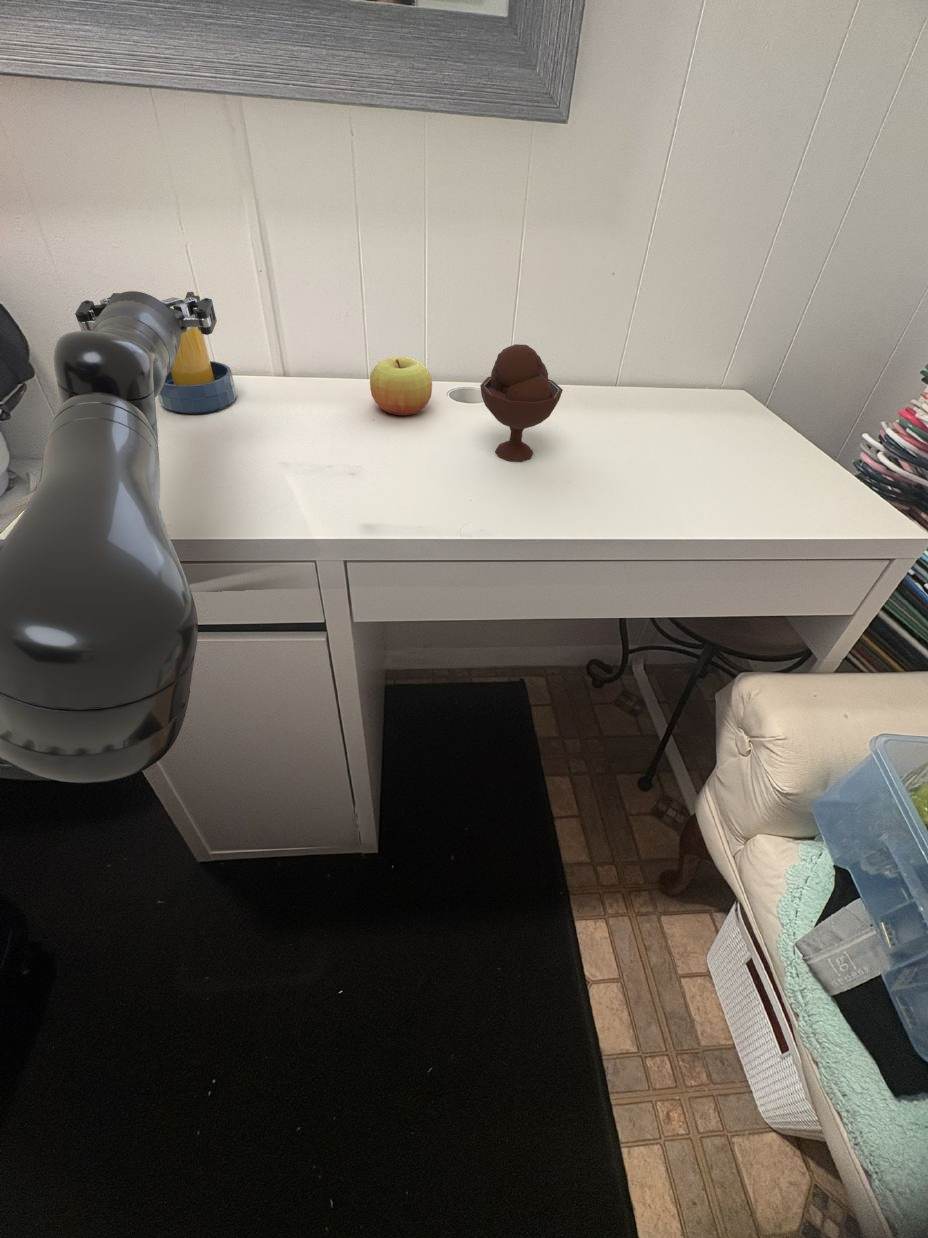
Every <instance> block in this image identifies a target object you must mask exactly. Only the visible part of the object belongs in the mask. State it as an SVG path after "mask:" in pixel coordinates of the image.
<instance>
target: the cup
mask: <svg viewBox="0 0 928 1238" xmlns="http://www.w3.org/2000/svg"><path fill="white" fill-rule="evenodd" d="M210 359H211V358H210V355H209V352H208V347H207V343H206V339H205V334H202V333H201V331H199V330H198V327H191V328H190V330H188V331H186V332H184V333H182V334H181V341H180V346H179V349H178V354H177V356H176V359H175V362H174V365H173V367H172V369H171V371H170V373H171V376H172V380H173V383H174V385H196V384H204V383H208V382H213V381H215V379H214V375H213V371H212V367H211V363H210V361H211V360H210Z"/></svg>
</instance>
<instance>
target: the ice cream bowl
mask: <svg viewBox="0 0 928 1238" xmlns="http://www.w3.org/2000/svg"><path fill="white" fill-rule="evenodd" d="M563 391H564V389H563V388H562V387H560V385H558V383H556V382H555V380H553V379H549V372H548V370H547V366H546V364H545V363H544V362H543V361H542V359H541V356H540V355H539V354H538V353H537V351H536V350H535V349H534V348H532V347H530V346H529V345H528V344H521V343H519V344H517V343H516V344H512V345H510V346H508V347H505V348H503V349H502V350H501V351H500V352H499V353H498V354H497V357H496V360H495V362H494V365H493V367H492V370H491V373H490V376H487V377H486V378H485V379H484V381H482V383H481V384H480V395H481V399H482V401H483V404H484V406H485V407H486V408H487V410H488V411H489V412H490V413H491V414H492V416H493V417H494V418H495V419H496V421H498V422H499V423H500V424H501V425H503V426H505V427H509V430H510V433H509V440H507V441H504V442H501V443H500V444H499V445H498V446H497V447H496V448H495V451H494V453H495V454H496V455H497V457H498V458H500V459H502V460H505V461H508V462H516V463H522V462H525V461H528V460H531V459H532V457H533V455H534V451H533V449H532V448H531V447H530V446H529V445H528V444H527V443H525V442H523V432H524V430H525V429H529V428H532V427H535V426H537V425H539V424H542V423H543V422H544V421H546V420H547V419H548V418H549V417H550V416H551V414H552V413H553V411H554V410H555V408H556V406H557V405H558V403H559V402H560V399H561V397H562V394H563Z"/></svg>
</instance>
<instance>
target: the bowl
mask: <svg viewBox="0 0 928 1238" xmlns="http://www.w3.org/2000/svg"><path fill="white" fill-rule="evenodd" d="M210 363H211V367H212V371H213V375H214V379H215V381H213V382H208V383H204V384H196V385H174V383H173V380H172V376H171V373H169V374H168V375H167V377H166V381H165V384H164V386H163V388H162V390H161V391H160V393H159V394H158V395H157V398H158V401H159V404H160V405H161V406H162V407H163V408H164V409H167V410H169V411H172V412H175V413H178V414H179V413H180V414H187V415H197V414H198V415H199V414H207V413H212V412H216V411H220V410H222V409H224V408H226V407H228V406H229V405H230V404H231V403H232V402H234V401H235V400H236V398H237V392H236V391H237V390H236V387H235V381H234V377H233V373H232V372H233V371H232V369H231V367H230V366H228V365H227V364H225V363H223V362H219V361H215V360H214V361H213V360H210Z"/></svg>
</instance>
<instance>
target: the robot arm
mask: <svg viewBox="0 0 928 1238" xmlns="http://www.w3.org/2000/svg"><path fill="white" fill-rule="evenodd" d="M99 303H100V304H95V303H94V301H93V300H89V299H88V300H87V299H86V300H84V301H81V302H80V304H79V306H78V308H77V309H76V311H75V313H74V315H75V318H76V320H77V323H78V326H79V328H80V330H77V331H70V332H66V333H65V334H63V335H62V336H60V337H59V339H58V340H57V342H56V343H55V346H54V351H53V368H54V373H55V379H56V384H57V390H58V396H59V401H60V406H59V407H58V409H57V410H56V411H55V414H54V415H53V417H52V420H51V422H50V425H49V429H48V433H47V438H46V443H45V446H44V453H43V457H42V462H41V470H40V476H39V479H38V480H39V481H38V484H37V487H36V489H35V490H34V493H33V494H32V496H31V498H30V500H29V501H28V504H27V505H26V507H25V509H24V510H23V512H22V514H21V515H20V516H19V518H18V520H17V521H16V523H15V524H14V526H13V527H12V528H11V529H10V531H9V532H8V534H7V535H6V537H5V538H4V539H3V540H2V542H1V543H0V759H1V760H3V761H4V762H5V763H7V764H9V765H11V766H12V767H15V768H17V769H19V770H22V771H25V772H27V773H30V774H32V775H34V776H37V777H41V778H45V779H49V780H53V781H57V782H62V783H63V782H64V783H65V782H66V783H76V784H94V783H96V784H97V783H108V782H113V781H117V780H121V779H126V778H129V777H131V776H133V775H137V774H138V773H141V772H142V771H146V770H147V769H149V768H150V767H152V766H153V765H155V764H156V763H158V762H159V761H160V760H162V758H163V757H164V756H165V755H166V754H167V753H168V752H169V750H170V749H171V748H172V747H173V745H174V744H175V742H176V741H177V738H178V736H179V734H180V732H181V730H182V727H183V724H184V721H185V718H186V714H187V710H188V705H189V701H190V694H191V685H192V679H193V671H194V665H195V656H196V652H197V646H198V635H199V622H198V621H199V620H198V619H199V618H198V611H197V608H196V604H195V600H194V597H193V593H192V590H191V587H190V583H189V582H188V578H187V576H186V573H185V571H184V568H183V565H182V563H181V561H180V558H179V556H178V554H177V551H176V549H175V547H174V545H173V542H172V540H171V538H170V535H169V533H168V530H167V528H166V524H165V521H164V518H163V515H162V511H161V507H160V499H161V497H160V496H161V466H160V452H159V450H160V449H159V429H158V418H157V407H156V398H157V397H158V394H159V393H160V391H161V390H162V388H163V386H164V384H165V381H166V377H167V375H168V374H169V373H170V371H171V369H172V367H173V365H174V362H175V359H176V356H177V354H178V349H179V346H180V341H181V334H182V333H184V332H186V331H188V330H190V328H191V327H198V330H199V331H201V333H202V334H204V336H209V335H211V334H213V332H214V329H215V327H216V325H217V322H218V321H217V316H216V311H215V308H214V303H213V299H212V298H209V297H204V298H202V299H201V297H200V295H195V293H194V291H187V292H186V293H185V297H184V299H183V298H179V297H173V296H172V297H169V298H166V299H162V300H159V299H158V298H157V297H155V296H153V295H151V294H148V293H145V292H142V291H137V290H129V291H123V292H112V294H111V295H110V296H109V297H107V298H102V299H100V300H99ZM172 307H173V308H172Z"/></svg>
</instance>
